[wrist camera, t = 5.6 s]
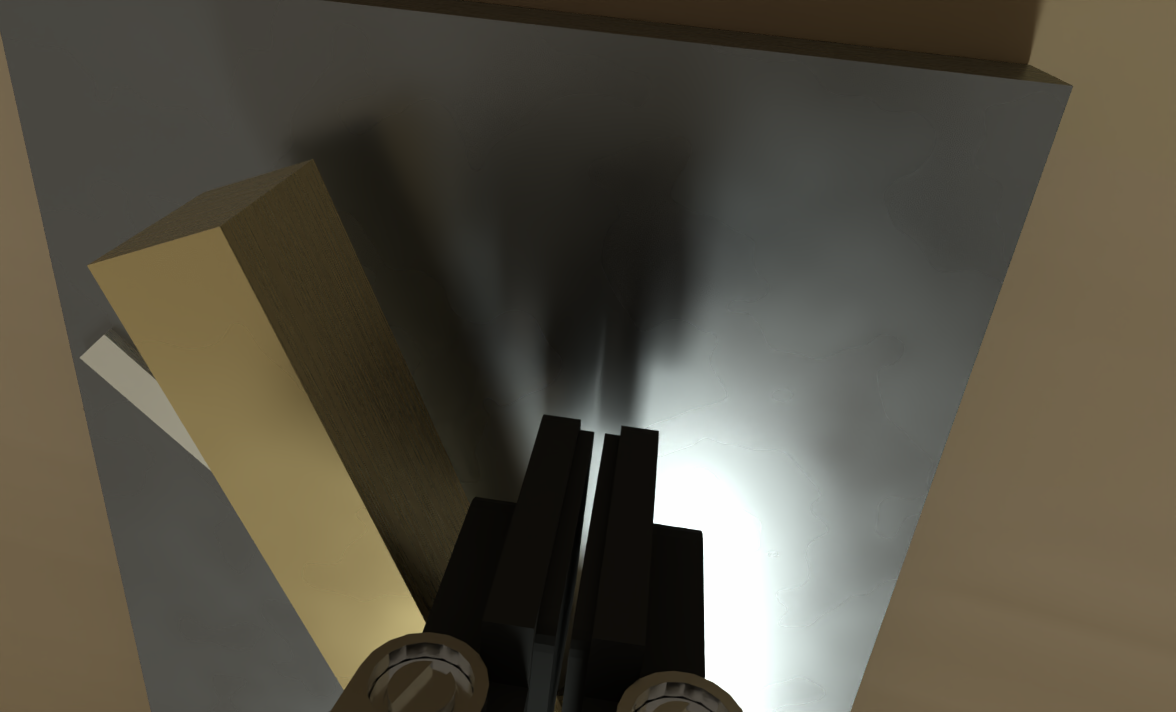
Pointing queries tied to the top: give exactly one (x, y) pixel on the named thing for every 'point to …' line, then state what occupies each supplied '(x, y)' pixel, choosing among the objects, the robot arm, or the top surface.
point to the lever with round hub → (297, 402)
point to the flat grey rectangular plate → (555, 286)
